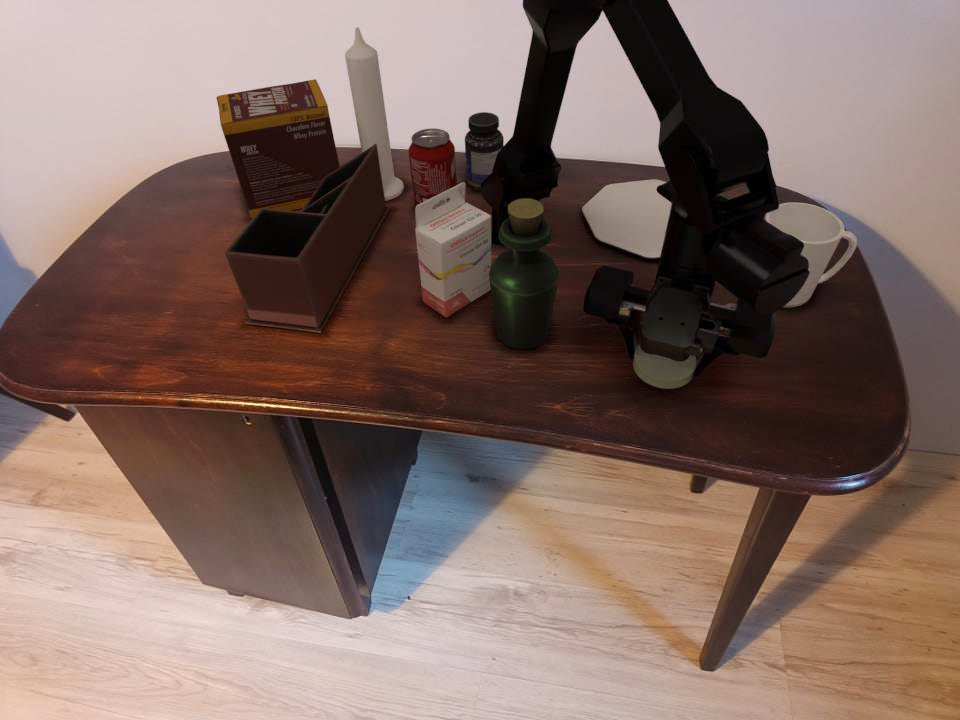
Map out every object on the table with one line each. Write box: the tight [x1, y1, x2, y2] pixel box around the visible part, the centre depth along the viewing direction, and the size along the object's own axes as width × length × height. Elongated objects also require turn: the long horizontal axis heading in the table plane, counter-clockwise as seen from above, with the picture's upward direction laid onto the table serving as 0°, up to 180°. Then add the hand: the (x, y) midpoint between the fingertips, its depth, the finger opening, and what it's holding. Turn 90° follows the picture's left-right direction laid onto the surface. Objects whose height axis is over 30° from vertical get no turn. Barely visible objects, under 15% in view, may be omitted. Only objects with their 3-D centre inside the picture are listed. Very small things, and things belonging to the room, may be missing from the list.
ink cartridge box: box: [414, 182, 492, 319], centre depth 80 cm, size 9×5×15 cm, turn 134°
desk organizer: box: [224, 144, 391, 334], centre depth 87 cm, size 10×29×11 cm, turn 168°
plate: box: [581, 178, 671, 260], centre depth 95 cm, size 20×20×2 cm
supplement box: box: [215, 78, 340, 219], centre depth 99 cm, size 10×15×16 cm
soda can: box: [408, 128, 458, 210], centre depth 96 cm, size 7×7×12 cm
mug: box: [764, 201, 858, 309], centre depth 80 cm, size 11×9×10 cm
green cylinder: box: [632, 343, 697, 390], centre depth 72 cm, size 7×7×2 cm
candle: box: [344, 26, 405, 202], centre depth 96 cm, size 7×7×25 cm
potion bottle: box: [489, 198, 560, 351], centre depth 73 cm, size 8×8×18 cm
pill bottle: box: [464, 111, 505, 192], centre depth 101 cm, size 6×6×11 cm
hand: (663, 364), depth 72 cm, fingers closed on green cylinder, 7 cm apart
